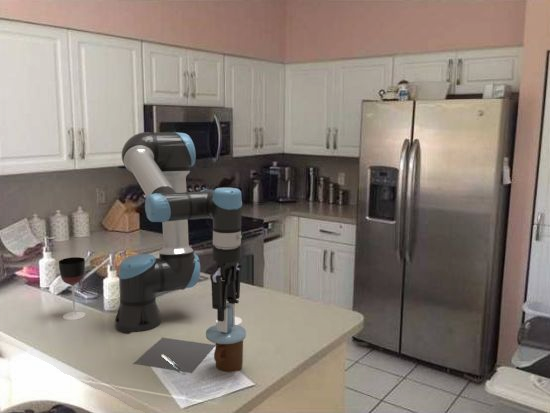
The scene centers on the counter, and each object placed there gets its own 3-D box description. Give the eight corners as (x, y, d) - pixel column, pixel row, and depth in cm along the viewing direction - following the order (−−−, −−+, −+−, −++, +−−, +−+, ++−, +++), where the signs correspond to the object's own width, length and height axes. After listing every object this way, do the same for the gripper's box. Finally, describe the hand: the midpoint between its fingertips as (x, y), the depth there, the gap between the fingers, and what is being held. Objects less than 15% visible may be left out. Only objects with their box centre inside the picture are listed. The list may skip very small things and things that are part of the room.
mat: (132, 365, 141) (132, 363, 141) (162, 339, 158) (162, 337, 158) (191, 374, 137) (191, 372, 137) (215, 346, 154) (215, 345, 154)
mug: (228, 383, 133) (228, 350, 131) (203, 377, 135) (203, 345, 134) (246, 364, 144) (247, 333, 142) (223, 358, 147) (223, 328, 145)
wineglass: (56, 318, 173) (53, 262, 169) (74, 309, 181) (72, 256, 177) (73, 322, 170) (71, 265, 166) (92, 313, 178) (90, 259, 174)
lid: (199, 341, 134) (199, 312, 133) (214, 325, 144) (214, 298, 143) (239, 346, 131) (239, 317, 130) (250, 329, 142) (251, 303, 141)
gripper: (223, 254, 125) (222, 342, 129) (253, 241, 139) (251, 320, 143) (198, 250, 128) (198, 337, 132) (229, 238, 142) (229, 315, 146)
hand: (226, 328), depth 138 cm, fingers open, 3 cm apart
